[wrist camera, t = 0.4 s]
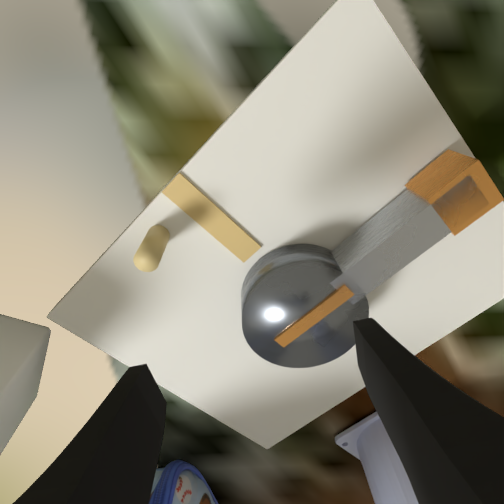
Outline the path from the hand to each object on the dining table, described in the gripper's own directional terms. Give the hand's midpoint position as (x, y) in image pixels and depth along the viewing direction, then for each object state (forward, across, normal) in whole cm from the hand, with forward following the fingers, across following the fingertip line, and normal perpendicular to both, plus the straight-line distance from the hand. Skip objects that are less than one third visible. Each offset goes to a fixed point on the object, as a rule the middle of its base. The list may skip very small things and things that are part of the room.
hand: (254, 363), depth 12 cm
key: (+9, -6, +2) cm, 10 cm away
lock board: (+10, -2, +4) cm, 11 cm away
